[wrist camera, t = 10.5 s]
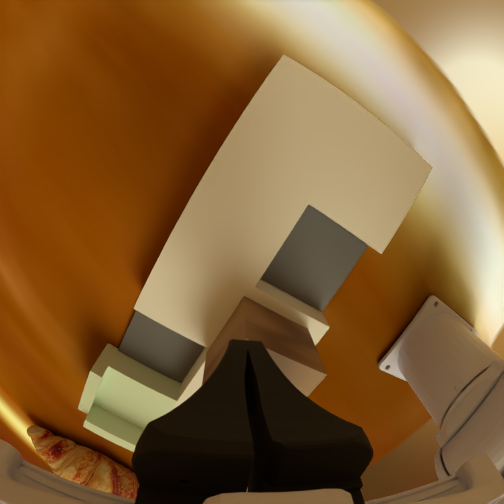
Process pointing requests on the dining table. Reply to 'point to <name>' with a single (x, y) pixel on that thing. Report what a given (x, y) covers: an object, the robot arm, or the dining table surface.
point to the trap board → (257, 241)
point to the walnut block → (271, 344)
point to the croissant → (83, 464)
